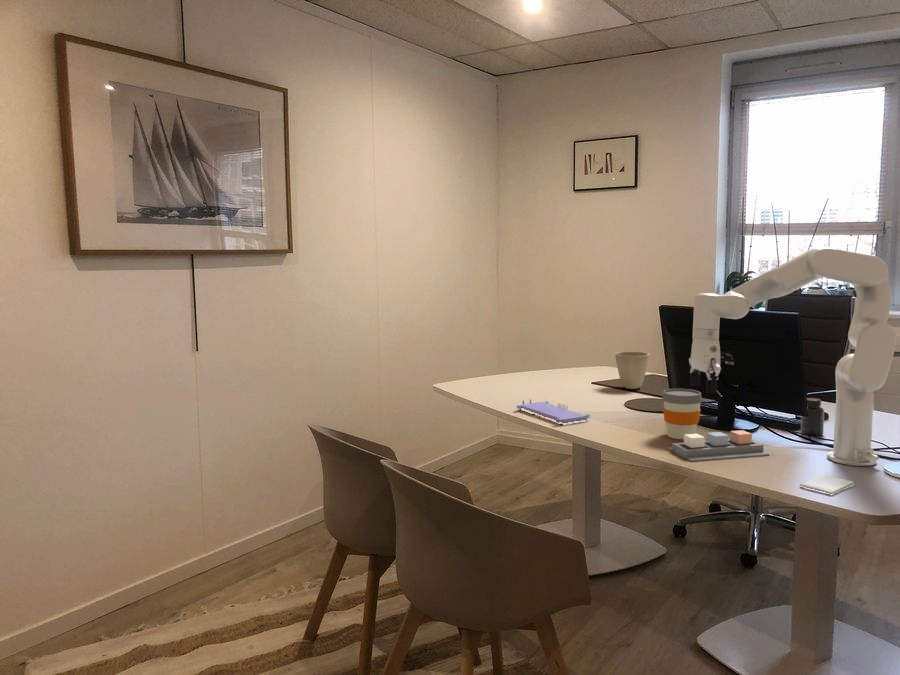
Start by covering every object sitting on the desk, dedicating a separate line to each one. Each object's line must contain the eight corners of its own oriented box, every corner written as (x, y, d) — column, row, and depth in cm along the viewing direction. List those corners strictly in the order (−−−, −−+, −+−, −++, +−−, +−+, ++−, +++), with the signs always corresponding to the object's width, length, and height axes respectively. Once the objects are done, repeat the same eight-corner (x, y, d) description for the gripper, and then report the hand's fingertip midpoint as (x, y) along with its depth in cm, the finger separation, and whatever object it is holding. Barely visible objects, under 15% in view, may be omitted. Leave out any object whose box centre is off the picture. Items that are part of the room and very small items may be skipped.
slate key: (728, 444, 213) (728, 435, 212) (715, 445, 212) (715, 436, 211) (719, 441, 217) (720, 431, 217) (707, 442, 216) (707, 432, 216)
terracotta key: (751, 443, 214) (751, 433, 214) (738, 444, 213) (738, 434, 213) (742, 439, 218) (743, 430, 218) (730, 440, 218) (730, 431, 217)
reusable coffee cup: (698, 431, 239) (699, 389, 237) (702, 441, 227) (704, 396, 225) (660, 430, 241) (661, 388, 240) (662, 439, 229) (663, 395, 227)
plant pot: (647, 385, 320) (648, 351, 318) (649, 392, 306) (650, 356, 304) (614, 384, 324) (615, 350, 322) (614, 391, 309) (615, 355, 307)
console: (769, 455, 210) (769, 447, 210) (690, 461, 205) (691, 453, 205) (741, 443, 224) (741, 435, 224) (667, 448, 219) (667, 441, 219)
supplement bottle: (813, 430, 237) (815, 396, 236) (827, 436, 231) (829, 400, 229) (795, 432, 236) (797, 397, 235) (809, 437, 229) (811, 401, 228)
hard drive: (822, 474, 189) (799, 483, 182) (854, 481, 183) (832, 491, 175) (822, 479, 190) (799, 489, 182) (854, 487, 183) (831, 497, 176)
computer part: (544, 406, 282) (513, 411, 275) (544, 396, 282) (513, 400, 275) (591, 422, 256) (558, 427, 249) (591, 411, 255) (558, 416, 248)
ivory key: (704, 446, 211) (704, 437, 211) (691, 447, 210) (691, 438, 210) (696, 442, 215) (696, 433, 215) (683, 443, 215) (683, 434, 214)
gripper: (732, 337, 202) (729, 395, 204) (702, 330, 219) (700, 383, 221) (708, 338, 201) (705, 395, 203) (680, 330, 218) (678, 384, 220)
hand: (702, 389), depth 212 cm, fingers open, 9 cm apart
